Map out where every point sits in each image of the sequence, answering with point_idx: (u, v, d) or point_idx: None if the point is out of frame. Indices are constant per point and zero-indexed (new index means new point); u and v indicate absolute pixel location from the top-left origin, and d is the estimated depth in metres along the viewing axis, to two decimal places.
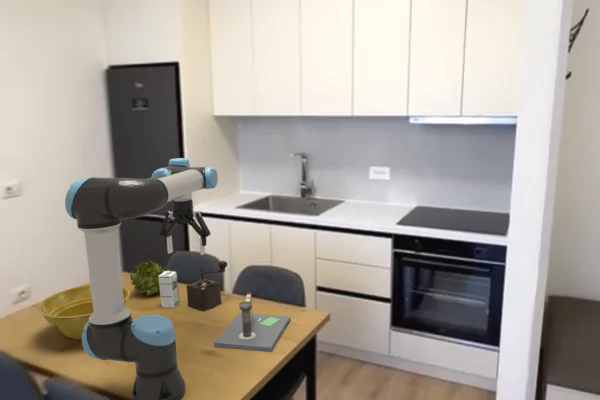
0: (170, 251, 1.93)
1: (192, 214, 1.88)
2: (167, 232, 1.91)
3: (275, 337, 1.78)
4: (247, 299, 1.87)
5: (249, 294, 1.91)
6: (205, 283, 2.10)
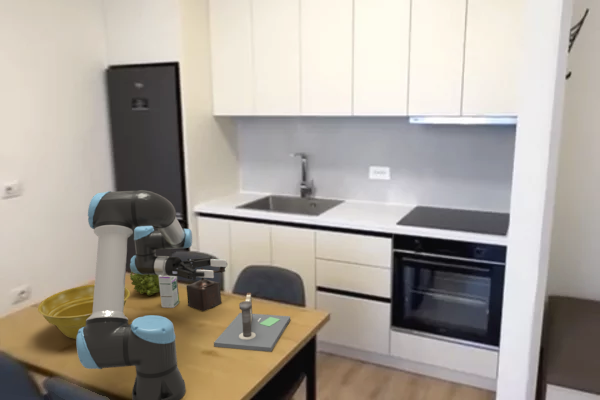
0: None
1: None
2: (192, 269, 1.87)
3: (275, 337, 1.78)
4: (247, 299, 1.87)
5: (249, 294, 1.91)
6: (205, 283, 2.10)
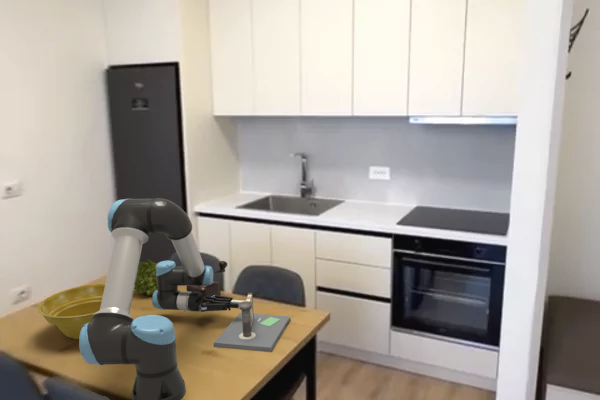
0: None
1: None
2: (224, 301, 1.93)
3: (275, 337, 1.78)
4: (248, 299, 1.87)
5: (251, 294, 1.91)
6: None
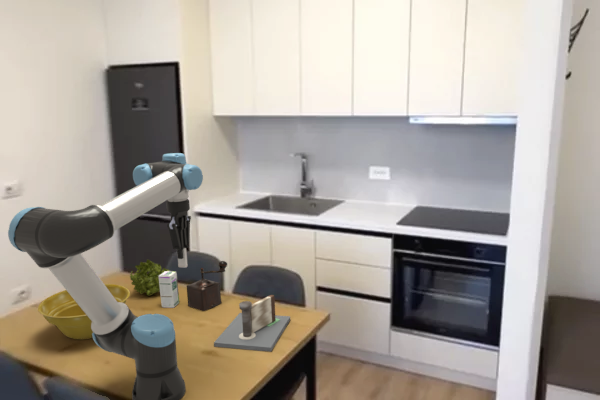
0: None
1: (171, 220, 1.65)
2: None
3: (275, 337, 1.78)
4: (261, 300, 1.85)
5: (270, 296, 1.88)
6: (205, 283, 2.10)
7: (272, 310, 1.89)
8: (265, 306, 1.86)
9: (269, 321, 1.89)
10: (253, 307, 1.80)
